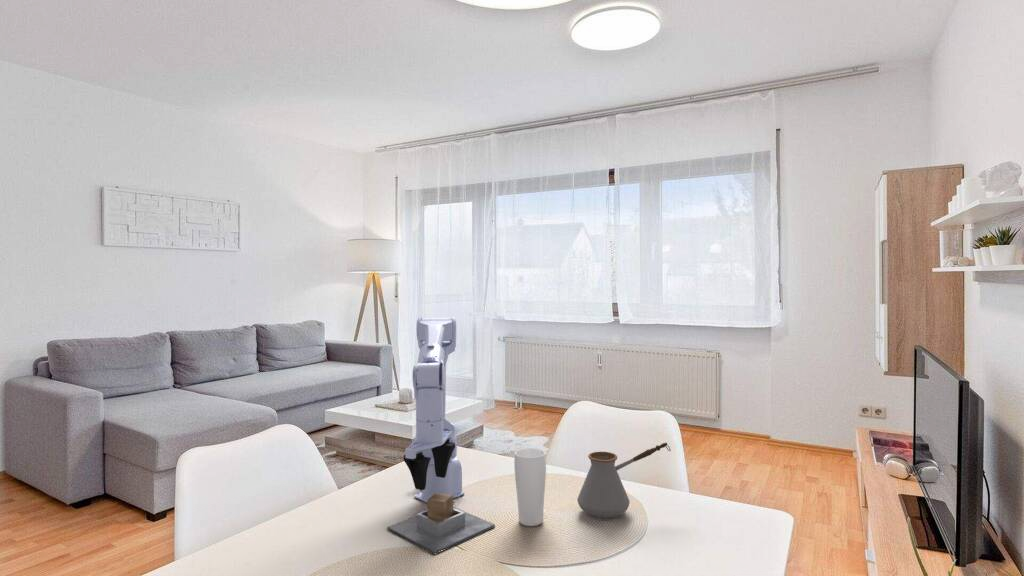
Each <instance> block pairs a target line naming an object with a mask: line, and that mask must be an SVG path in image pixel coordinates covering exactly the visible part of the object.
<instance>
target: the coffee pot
mask: <svg viewBox="0 0 1024 576" xmlns="http://www.w3.org/2000/svg"><path fill="white" fill-rule="evenodd" d="M663 448H666V450H667V451H668V452H671V448H670V446H669V445H668V442H663V443H660V445H655V447H651V448H650V449H649V448H648V449H646V450H645V451H643V452H641V453H639V454H638V455H636V456H634V457H633V458H631V459H628V460H627V461H624V462H622V463H619V464H618V465H616V464H615V463H616V461H617V460H618V455H617V454H616V453H614V452H610V451H609V452H608V451H593V452H591V453H589V454H588V456H587V458H588V459H589V460H590V464H591V465H590V467H589V470H588V472H587V475H586V477H585V480H584V481H583V484H582V487H581V489H580V492H579V493H578V495H577V500H576V501H577V504H578V506H579V508H580V509H581V510H582V512H584V513H586V516H588V517H589V518H591V519H594V520H598V521H613V520H614V521H615V520H616V519H619V518H620V517H622V515H623V514H625V512H627V510H628V509H629V507H630V503H631V502H630V499H629V496H628V494H627V492H626V489H625V486H624V485H623V484H624V483H623V482H622V480H621V478H620V475H619V473H618V471H620V469H623V468H625V467H627V466H629V465H631V464H632V463H635V462H637V461H640V460H641V459H644V458H647V457H649V456H651V455H652V454H654V453H656V452H657V451H658V452H659V451H661V449H663Z"/></svg>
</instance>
